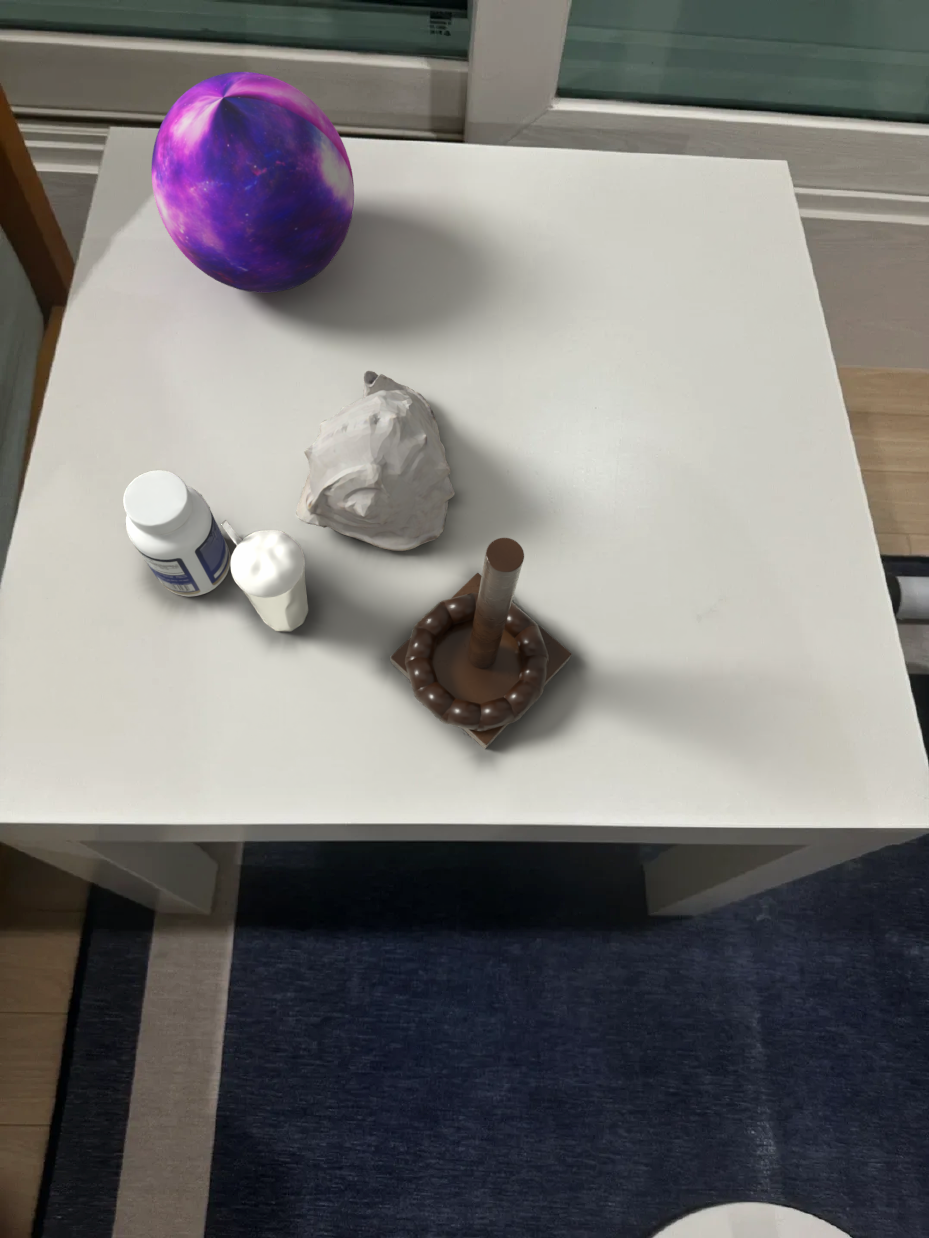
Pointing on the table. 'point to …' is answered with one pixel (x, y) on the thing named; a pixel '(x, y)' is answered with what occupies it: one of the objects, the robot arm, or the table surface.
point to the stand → (486, 638)
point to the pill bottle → (175, 533)
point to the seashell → (379, 469)
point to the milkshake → (271, 576)
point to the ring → (462, 710)
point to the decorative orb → (252, 182)
